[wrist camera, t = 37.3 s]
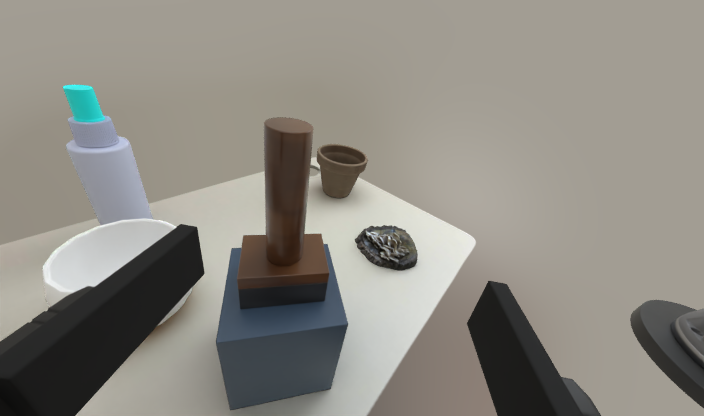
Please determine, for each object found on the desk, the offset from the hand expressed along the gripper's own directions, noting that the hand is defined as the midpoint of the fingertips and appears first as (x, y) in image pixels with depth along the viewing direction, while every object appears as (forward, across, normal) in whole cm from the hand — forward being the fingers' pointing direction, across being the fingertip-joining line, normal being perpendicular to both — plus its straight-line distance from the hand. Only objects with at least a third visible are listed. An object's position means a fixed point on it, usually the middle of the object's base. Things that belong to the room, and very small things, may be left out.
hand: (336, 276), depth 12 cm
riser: (+10, -6, -22) cm, 24 cm away
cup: (+11, -24, -21) cm, 34 cm away
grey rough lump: (+32, +7, -20) cm, 39 cm away
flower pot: (+49, -6, -18) cm, 53 cm away
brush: (+8, -5, -10) cm, 14 cm away
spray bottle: (+22, -34, -20) cm, 45 cm away
